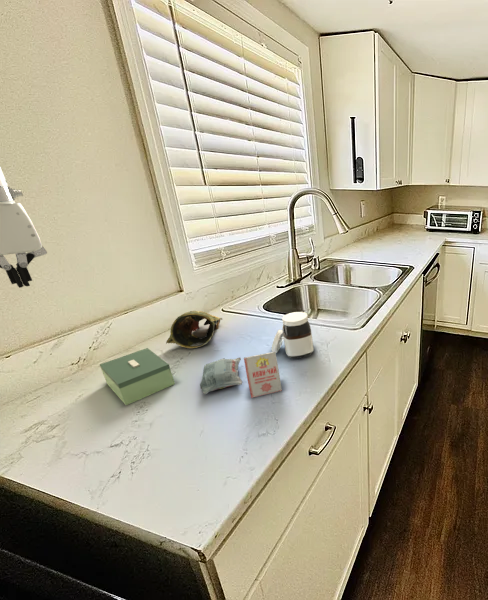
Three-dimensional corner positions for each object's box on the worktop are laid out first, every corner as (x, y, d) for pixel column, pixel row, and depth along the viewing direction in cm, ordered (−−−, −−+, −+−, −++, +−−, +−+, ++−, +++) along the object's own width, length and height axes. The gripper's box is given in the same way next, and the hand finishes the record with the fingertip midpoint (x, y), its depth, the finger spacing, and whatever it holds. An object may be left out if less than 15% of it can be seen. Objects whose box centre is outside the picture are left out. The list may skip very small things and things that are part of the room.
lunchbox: (117, 382, 71) (168, 362, 79) (98, 363, 79) (147, 346, 87) (126, 406, 74) (175, 384, 81) (107, 385, 82) (153, 367, 89)
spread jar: (316, 357, 93) (312, 320, 88) (275, 367, 88) (268, 329, 84) (308, 340, 103) (304, 305, 99) (270, 348, 98) (264, 312, 94)
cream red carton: (251, 390, 79) (244, 354, 75) (280, 383, 81) (274, 348, 78) (251, 399, 76) (243, 361, 72) (282, 391, 78) (275, 355, 75)
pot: (227, 298, 113) (210, 300, 95) (242, 327, 114) (228, 334, 97) (176, 320, 109) (149, 326, 92) (193, 349, 111) (169, 361, 93)
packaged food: (242, 366, 89) (238, 350, 87) (243, 390, 79) (239, 373, 77) (206, 374, 85) (201, 358, 84) (202, 401, 75) (197, 383, 74)
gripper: (35, 194, 71) (66, 274, 78) (-81, 198, 60) (-33, 291, 67) (41, 195, 67) (74, 280, 74) (-82, 199, 56) (-30, 299, 62)
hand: (23, 285), depth 70 cm, fingers closed
